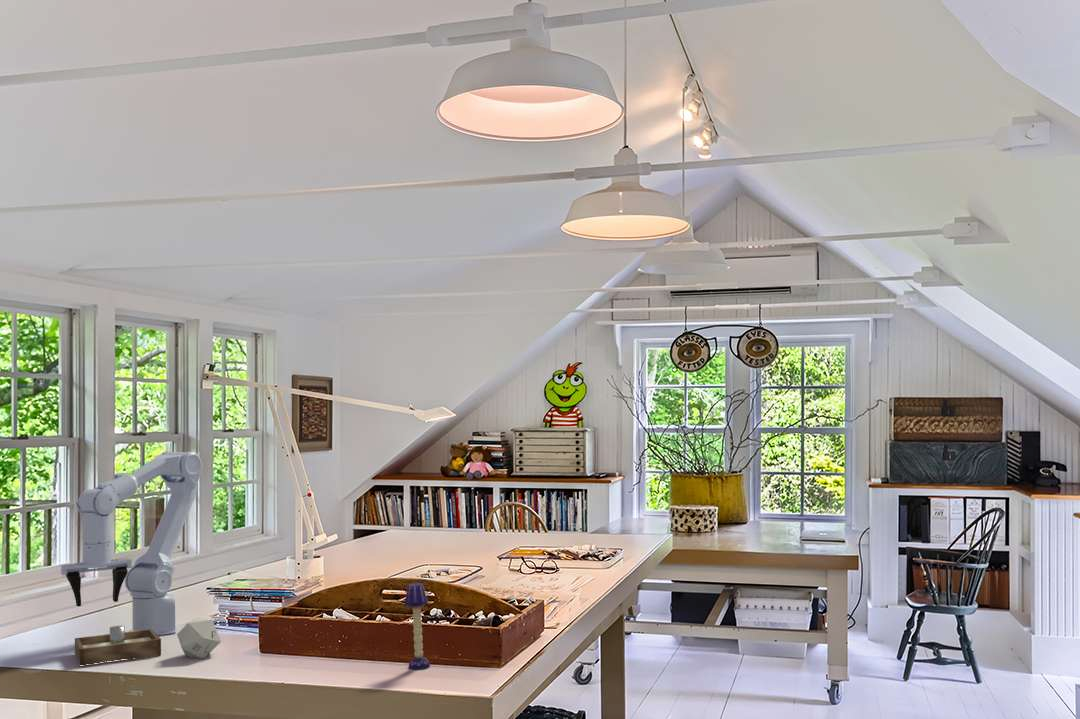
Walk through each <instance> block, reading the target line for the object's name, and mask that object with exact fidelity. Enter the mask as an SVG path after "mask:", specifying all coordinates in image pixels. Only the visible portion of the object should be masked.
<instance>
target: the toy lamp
mask: <svg viewBox="0 0 1080 719" xmlns="http://www.w3.org/2000/svg"><path fill="white" fill-rule="evenodd" d="M427 604H428V597H427V594H426V590H425V587H424V584H423V583H421V582H416V583H415V582H413V583H410V584H409V583H408V585H407V589H406V594H405V600H404V605H405V606H406V607H411V609H412V618H413V621H412V626H413V642H414V644H413V648H414V657H413V658H412V659H411V660H410V662H409V663H408V668H409V669H410V670H424V669H428V668H430V666H431V664H430V661H429V660H428V659H427V657H424V651H423V649H424V644H423V640H424V639H423V635H422V634H423V628H422V625H423V623H422V616H423V615H422V612H421V611H422V606H426V605H427Z"/></svg>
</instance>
